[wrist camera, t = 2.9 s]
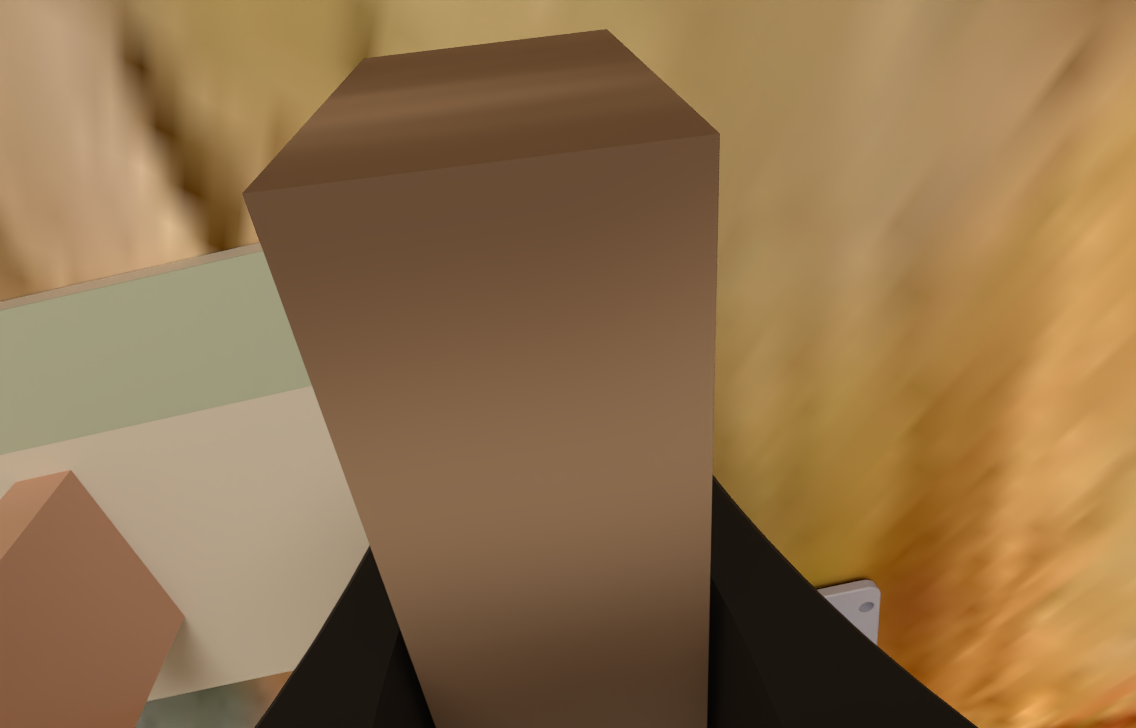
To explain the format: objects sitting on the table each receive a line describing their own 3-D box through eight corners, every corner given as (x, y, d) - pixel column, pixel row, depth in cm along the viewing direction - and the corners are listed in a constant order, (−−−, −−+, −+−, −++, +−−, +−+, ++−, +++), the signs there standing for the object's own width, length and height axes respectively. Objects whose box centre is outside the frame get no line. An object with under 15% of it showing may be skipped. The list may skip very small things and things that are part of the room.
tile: (184, 615, 21) (88, 831, 16) (131, 627, 21) (18, 846, 16) (71, 469, 18) (-94, 681, 13) (8, 483, 18) (-182, 700, 13)
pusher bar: (643, 634, 15) (703, 909, 11) (505, 654, 15) (513, 939, 11) (606, 29, 9) (720, 133, 4) (364, 58, 8) (242, 192, 4)
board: (502, 610, 23) (502, 626, 23) (8, 715, 24) (-3, 733, 23) (350, 222, 16) (346, 231, 15) (-365, 384, 16) (-394, 400, 16)
